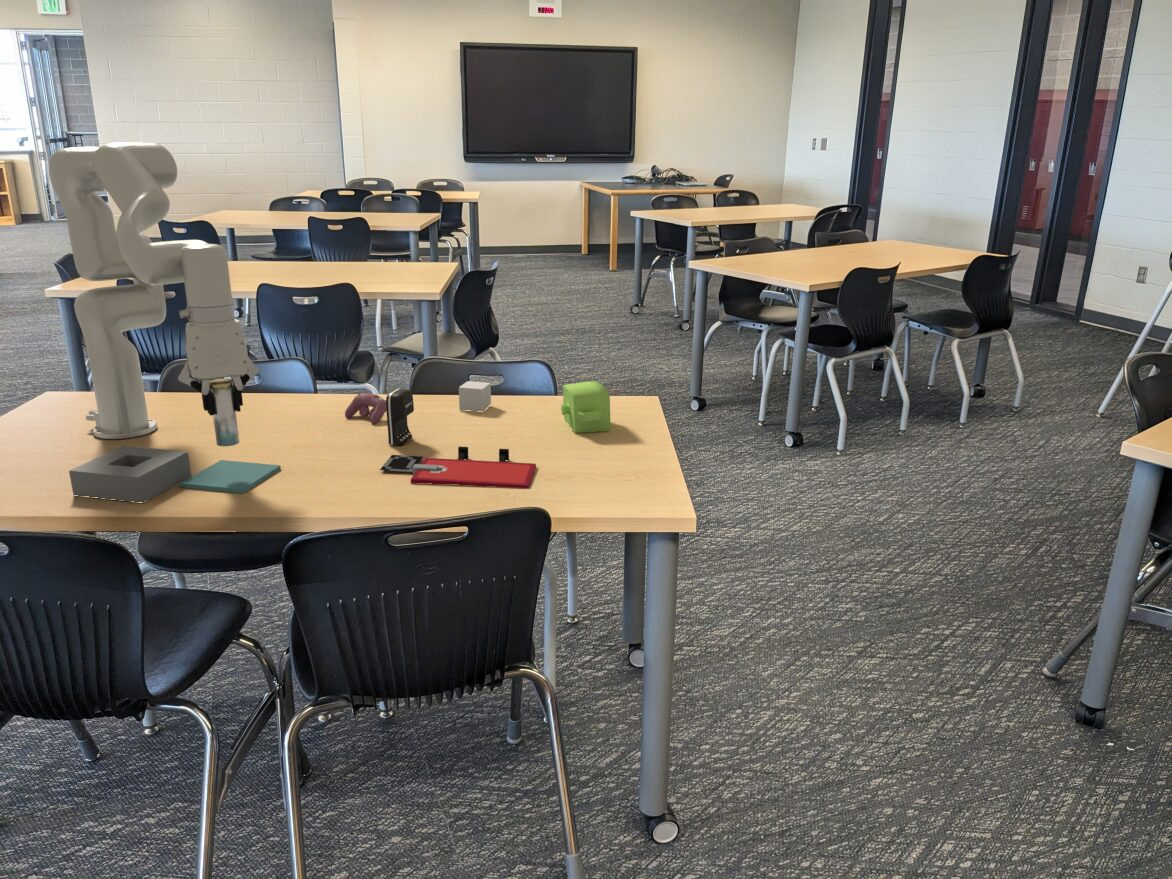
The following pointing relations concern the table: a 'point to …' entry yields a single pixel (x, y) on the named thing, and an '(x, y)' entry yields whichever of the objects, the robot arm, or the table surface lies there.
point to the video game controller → (367, 407)
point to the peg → (224, 412)
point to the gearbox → (586, 406)
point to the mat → (230, 476)
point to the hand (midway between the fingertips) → (224, 410)
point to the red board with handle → (464, 470)
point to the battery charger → (399, 415)
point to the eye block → (130, 473)
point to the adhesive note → (474, 396)
